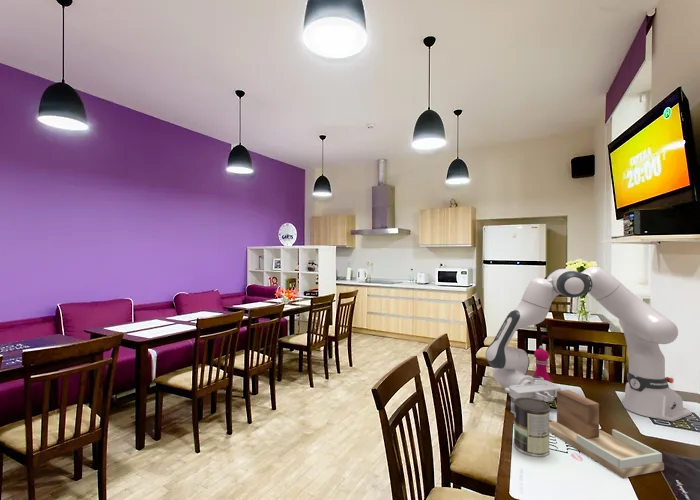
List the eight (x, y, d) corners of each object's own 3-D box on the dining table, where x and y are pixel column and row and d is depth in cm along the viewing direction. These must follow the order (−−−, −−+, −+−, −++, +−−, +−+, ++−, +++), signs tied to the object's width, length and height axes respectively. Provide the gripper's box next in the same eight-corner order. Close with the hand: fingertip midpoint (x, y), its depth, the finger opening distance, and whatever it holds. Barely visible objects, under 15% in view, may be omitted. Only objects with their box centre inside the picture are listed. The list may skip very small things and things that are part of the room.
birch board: (577, 423, 131) (577, 417, 131) (664, 470, 103) (663, 463, 103) (542, 428, 128) (542, 422, 128) (622, 477, 99) (622, 470, 99)
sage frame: (614, 436, 118) (614, 429, 118) (662, 462, 104) (662, 453, 104) (576, 442, 114) (576, 434, 114) (621, 469, 100) (621, 460, 100)
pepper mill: (553, 393, 159) (552, 348, 159) (535, 392, 160) (535, 347, 160) (547, 387, 166) (547, 344, 166) (530, 386, 167) (530, 343, 167)
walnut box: (568, 420, 129) (568, 389, 129) (599, 437, 117) (598, 403, 117) (556, 422, 128) (556, 391, 128) (586, 439, 116) (586, 405, 116)
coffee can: (509, 449, 114) (509, 404, 114) (518, 436, 122) (518, 394, 122) (546, 461, 107) (546, 414, 107) (552, 446, 115) (552, 402, 115)
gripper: (501, 380, 145) (526, 393, 132) (544, 376, 150) (572, 388, 136) (501, 396, 145) (526, 410, 131) (544, 391, 150) (572, 405, 136)
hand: (550, 399), depth 134 cm, fingers closed
